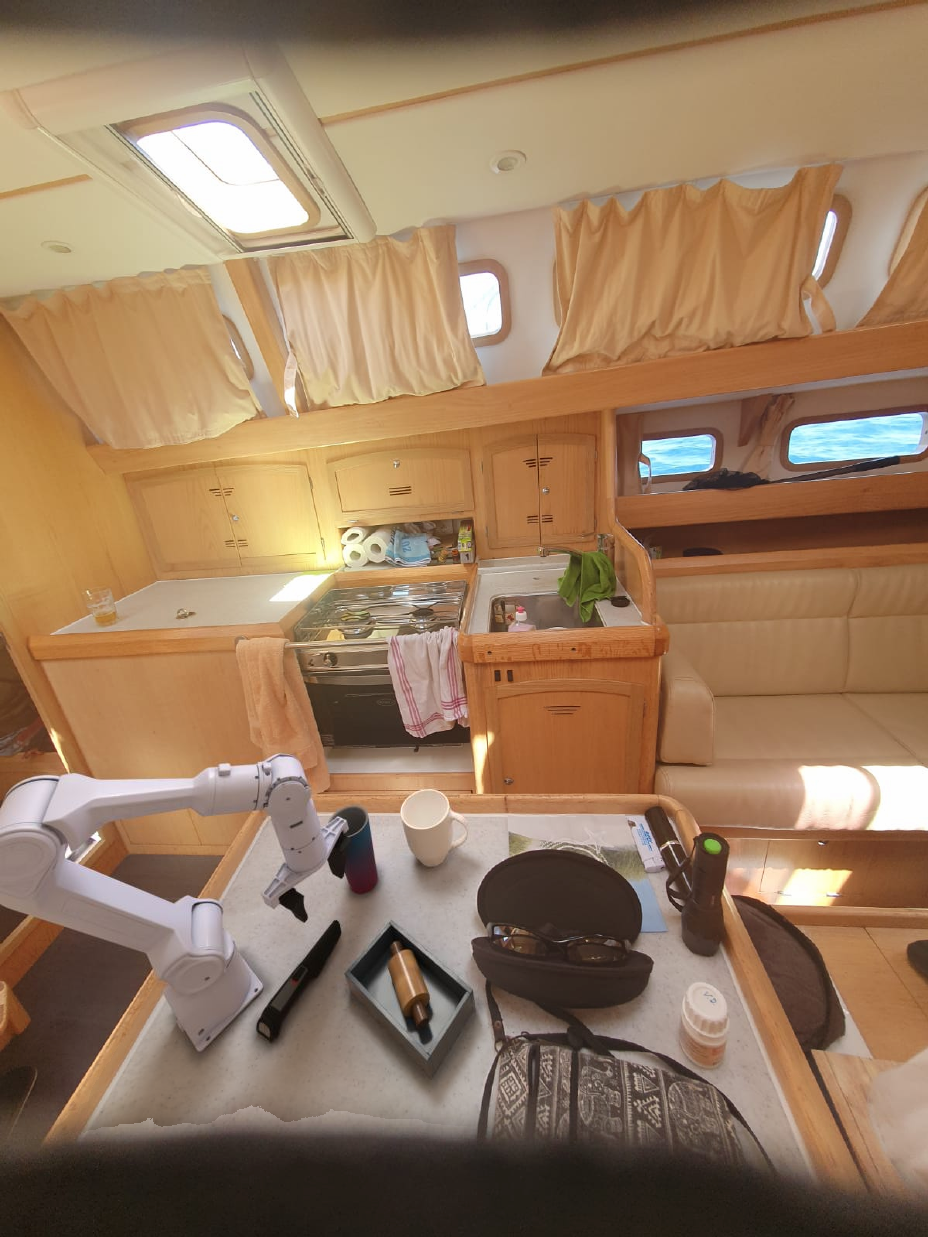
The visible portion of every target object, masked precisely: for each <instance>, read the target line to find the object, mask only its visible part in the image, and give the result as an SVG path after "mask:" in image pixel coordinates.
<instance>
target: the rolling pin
mask: <svg viewBox="0 0 928 1237" xmlns="http://www.w3.org/2000/svg"><path fill="white" fill-rule="evenodd" d="M390 951H391V954H392V959H391V960H390V961H389V964H388V970H389V973H390V976H391V979H392V982H393V985H394V988H395V991H396V994H397V997H398V1000H399V1003H400V1006H401V1009H402V1012H403V1015H404V1016H406V1017H411V1016H413V1017H414V1020H415V1023H416V1026H417V1028H418V1029H422V1028H424V1027H425V1026H426V1025H427V1024H428V1023H429V1021H430V1019H429V1016H428V1014H427V1011H426V1008H425V1007H426V1006H427V1004H428V1003H429V1000H430V995H429V992H428V990H427V987H426V984H425V982H424V979H423V977H422V974H421V972H420V969H419V967H418V964H417V961H416V959H415V956H414V954H413V952H412V951H411V950H403V947H402V944H401V942H400V941H396V942H394V943H392V944H391V946H390Z"/></svg>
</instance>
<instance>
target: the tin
mask: <svg viewBox="0 0 928 1237" xmlns="http://www.w3.org/2000/svg"><path fill="white" fill-rule="evenodd" d="M396 941H400V942H401V944H402V947H403V950H411V951H412V952H413V954H414V956H415V959H416V961H417V964H418V967H419V969H420V972H421V974H422V977H423V979H424V982H425V984H426V987H427V990H428V992H429V995H430V1000H429V1003H428V1004H427V1006H426V1007H425V1008H426V1011H427V1014H428V1016H429V1019H430V1021H429V1023H428V1024H427V1025H426V1026H425V1027H424V1028H422V1029H418V1028H417V1026H416V1023H415V1020H414V1017H413V1016H411V1017H406V1016H404V1015H403V1012H402V1009H401V1006H400V1003H399V1000H398V997H397V994H396V991H395V988H394V985H393V982H392V979H391V976H390V973H389V970H388V964H389V961H390V960H391V959H392V954H391V951H390V946H391V944H392V943H394V942H396ZM343 974H344V976H345V980H346V983H347V986H348V988H349V991H350V993H351V994H352V995H353V996H354V997H355V998H356V999H357V1000H358V1001H359V1002H360V1004H361V1005H362V1006H363V1007H364V1008H365V1009H366V1010H367V1011H368V1012H369V1014H371V1016H372V1017H373V1018H374V1019H375V1020H376V1022H378V1023H379V1024H380V1026H381V1027H383V1029H384V1030H385V1031H386V1032H387V1033H388V1034H389V1035H390V1036H391V1037H392V1038H393V1040H395V1042H396V1043H397V1044H398V1045H399V1046H400V1047H401V1048H402V1049H403V1050H404V1052H405V1053H406V1054H407V1056H409V1057H410V1058H411V1059H412V1061H414V1062H415V1063H416V1065H418V1067H419V1068H420V1069H421V1070H422V1071H423V1072H424V1073H425V1074H426V1075H427V1077H428V1078H429V1079H431V1080H432V1079H433V1078H434V1077H435V1075H436V1073H437V1072H438V1070H439V1069H440V1068H441V1065H442V1064H443V1062H444V1060H445V1059H446V1057H447V1056H448V1054H449V1052H450V1050H451V1049H452V1047H453V1046H454V1044H455V1042H456V1041H457V1040H458V1038H459V1036H460V1035H461V1033H462V1031H463V1030H464V1029H465V1026H466V1025H467V1024H468V1021H469V1020H470V1018H471V1017H472V1015H473V1014H474V1012H475V1010H476V1002H475V995H474V994H475V993H474V989H473V988H472V987H471V986H470V985H468V984H467V983H466V982H465V981H463V980H462V979H461V978H460V977H459V976H458V975H457V974H455V973H454V972H453V971H452V970H451V969H450V968H448V967H447V965H445V964H444V963H443V962H442V961H440V960H439V959H438V958H437V957H436V956H434V955H433V953H431V952H430V951H429V950H427V949H426V948H425V947H424V946H423V945H422V944H420V943H419V942H418V941H417V940H416V939H415V938H414V937H413V936H411V935H410V934H409V933H408V932H406V930H404V928H402V927H400V926H399V925H398V924H397V923H396V922H395V921H394V920H392V919H390V920H389V921H388V922H387V924H386V925H385V926H384V927H383V928H382V929H381V930H380V932H379V933H377V935H376V937H374V939H373V940H372V941H371V942H370V943H369V944H368V946H366V948H364V950H363V951H362V952H361V953H360V955H359V956H357V958H356V959H355V960H354V962H353V963H351V965H350V966H349V967H348V968H347V969H346V971H345V972H344V973H343Z"/></svg>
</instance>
